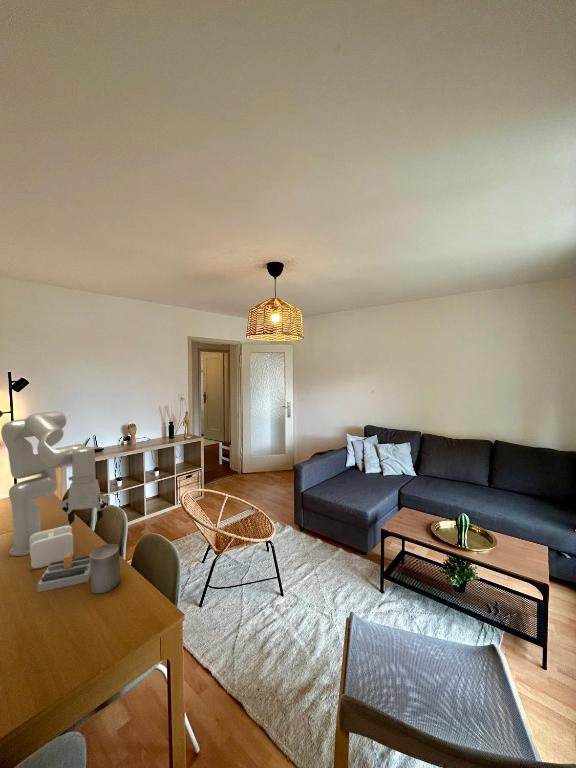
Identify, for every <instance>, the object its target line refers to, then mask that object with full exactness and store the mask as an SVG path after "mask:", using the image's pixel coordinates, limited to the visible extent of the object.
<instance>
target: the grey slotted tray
mask: <svg viewBox="0 0 576 768" xmlns="http://www.w3.org/2000/svg"><path fill="white" fill-rule="evenodd" d="M72 563H73V567H72V568H66V569H63V567H64V560H62V561H57V562H52V563H51V564H49V565H48V566H47V568H46V570H45V571H44V573H43V574H42V577H41V578H40V579H39V581H38V583H37V593H41V592H46V591H50V590H56V589H59V588H64V587H69V586H74V585H78V584H79V585H80V584H84V583H88V582H89V580H90V579H91V567H90V554H89V555H86V556H85V555H84V556H79V557H74V558H73V557H72Z"/></svg>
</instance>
